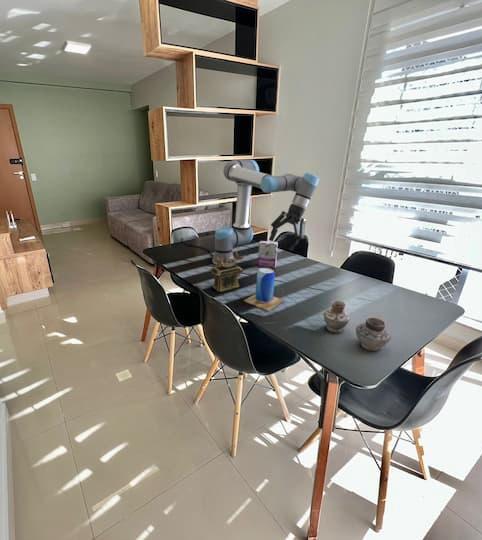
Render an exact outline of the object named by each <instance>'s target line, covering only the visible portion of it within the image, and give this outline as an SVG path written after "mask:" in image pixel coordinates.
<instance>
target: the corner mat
mask: <svg viewBox="0 0 482 540" xmlns="http://www.w3.org/2000/svg"><path fill="white" fill-rule="evenodd" d="M284 301H285V300H284V299H282V298H279V297H277V296H274V295H273V300H272V301H271V302H270V303H266V304H264V303H260V302H258V301H257V299H256V293H255V294H252V295H251V296H250V297H248V298H246V299H243V302H244V303H246V304H248V305H251V306H254V307H256V308H258V309H261V310H263V311H266V312H269V311H271V310H272V309H274V308H276V307H278V306H279V305H280V304H282V303H283V302H284Z"/></svg>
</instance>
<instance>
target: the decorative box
mask: <svg viewBox="0 0 482 540" xmlns="http://www.w3.org/2000/svg"><path fill="white" fill-rule="evenodd" d="M245 257H246V255H239V253H238V250H236V252H235V255H234V258H230V259H229V261H228V263H225V264H223V262H222V261H223V260H224V259H226V258H228V255H227V257H225V258H223V259H222V260H219V258H216V261H217V264H216V265H215V266H213V267H211V268H210V269H209V270H208V274H210V275H211V276H212V277H213V279H214V282H213V284H212V288H213V289H214V290H216V291H217V292H224V291H229V290H233V289H237V288H240V284H239V281H238V277H239V276H240V275H241V274H242V273H243V272H244V268H241V267H240V266H238V265H237V264H236V262H237V261H241V260H242V259H244V258H245ZM230 261H232V262H230ZM218 265H219V266H218Z"/></svg>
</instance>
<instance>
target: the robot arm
mask: <svg viewBox="0 0 482 540" xmlns="http://www.w3.org/2000/svg"><path fill="white" fill-rule="evenodd" d="M223 167H224V168H223V171H222V172H223V176H224V177H225V179H227V181H230V182H234V183H235V185H237V186H236V187H237V189H236V190H237V191H236V204H235V206H236V207H235V218H234V219H235V221H234V223H233V224H232V227H231V226H222V227H219V228H217V229H216V230H215V231H214V253H212V250H211V249H210V248H209V249H208V248H206V247H204V246H200V245H196V244H192V243H188V242H185V241H184V238H183V237H181V242H182V243H183V244H184V245H187V246H192V247H196V248H199V249H203V250H206V251H208V252H209V253H210V256H211V257H212V260H211V261H212V262H211V263H212V264H213V265H214V266H216V264H217V261H216V258H219V260H222V259H223V258H225V257H227V255H228V258H226V259H224V260H223V261H222V262H223V264H225V263H228V261H229V259H230V258H234V259H235V255H234V253H233V249H234V248H233V247H238V246H242V245H246V244H249V243H251V242H252V240H253V238H254V231H253V228H252V227H251V224H250V223H249V220H250V219H249V217H250V208H251V207H250V206H251V196H252V187H255V188H258V189H260V190H261V191H262V192H263V193H266V194H271V193H272V194H273V193H279V192H288V191H290V192H294V193H295V194H294V196H293V198H292V201H291V203H290V205H289V208H288V210H287V211H284V210H282V211H281V213H280V215H278V216H277V218H275V220H274V221H272V223H270V226H271V227H272V229H271V232H270V236H269V238H268V241H270V242H274V240H275V238H276V236H277V233H278V231H279V230H278V229H279V228H281V227H282V226H284V225H286V224H287V223H288V224H290V225H292V226H293V231H294V236H295V237H293V239H292V241H291V243H290V246H289V247H288V249H287V250H288V251H291V252H293V251H294V249H295V247H296V246H297V245H298V244H299V241H300V240H304V239H305V230H306V229H305V228H306V222H307V219H306V218H302V217H303V216H304V214H305V212H306V208H307V207H308V205H309V203H310V201H311V198H312V196H313V194H314V193H315V191H316V188H317V186H318V184H319V182H320V178H319V176H317V175H316V174H313V173H309V172H305V173H304V174H303V176H299V175H295V174H293V173H284V174H282V175H272V174H269V173H264V172H261V171H260V167H259V165H258V163H257V161H256V160H254V159H233V160H229V161H228V162H227V163H225V165H224V166H223ZM184 242H185V243H184ZM187 243H188V244H187ZM190 244H191V245H190ZM230 262H232V261H230ZM218 266H219V265H218Z"/></svg>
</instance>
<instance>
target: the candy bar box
mask: <svg viewBox="0 0 482 540" xmlns="http://www.w3.org/2000/svg"><path fill="white" fill-rule="evenodd" d="M278 244H279V242H278V241H270V240H260V241H259V242H258V256H257V268H270V269H276V267H277V259H278V258H277V257H278Z"/></svg>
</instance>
